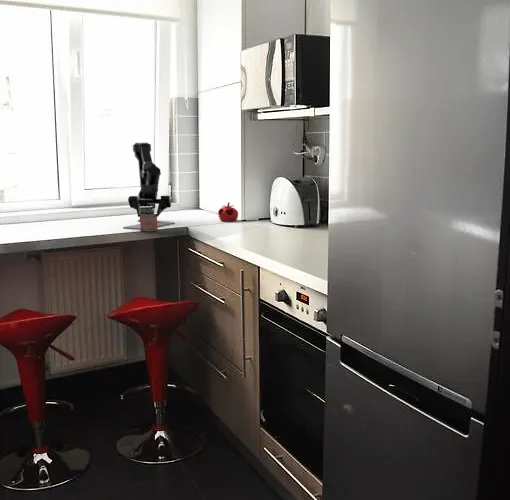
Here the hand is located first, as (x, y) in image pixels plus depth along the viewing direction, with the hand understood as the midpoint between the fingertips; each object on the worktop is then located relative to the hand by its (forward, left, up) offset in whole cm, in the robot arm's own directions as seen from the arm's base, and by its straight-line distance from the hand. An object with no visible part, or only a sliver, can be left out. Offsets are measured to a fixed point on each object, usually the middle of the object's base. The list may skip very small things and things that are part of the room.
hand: (147, 216), depth 267 cm
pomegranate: (+13, +44, -7) cm, 47 cm away
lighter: (-1, +1, -7) cm, 7 cm away
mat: (-11, +13, -7) cm, 18 cm away
